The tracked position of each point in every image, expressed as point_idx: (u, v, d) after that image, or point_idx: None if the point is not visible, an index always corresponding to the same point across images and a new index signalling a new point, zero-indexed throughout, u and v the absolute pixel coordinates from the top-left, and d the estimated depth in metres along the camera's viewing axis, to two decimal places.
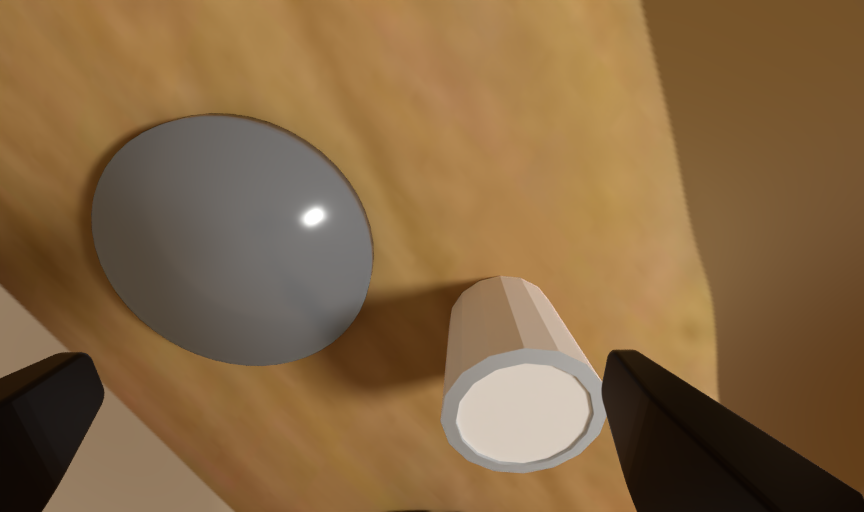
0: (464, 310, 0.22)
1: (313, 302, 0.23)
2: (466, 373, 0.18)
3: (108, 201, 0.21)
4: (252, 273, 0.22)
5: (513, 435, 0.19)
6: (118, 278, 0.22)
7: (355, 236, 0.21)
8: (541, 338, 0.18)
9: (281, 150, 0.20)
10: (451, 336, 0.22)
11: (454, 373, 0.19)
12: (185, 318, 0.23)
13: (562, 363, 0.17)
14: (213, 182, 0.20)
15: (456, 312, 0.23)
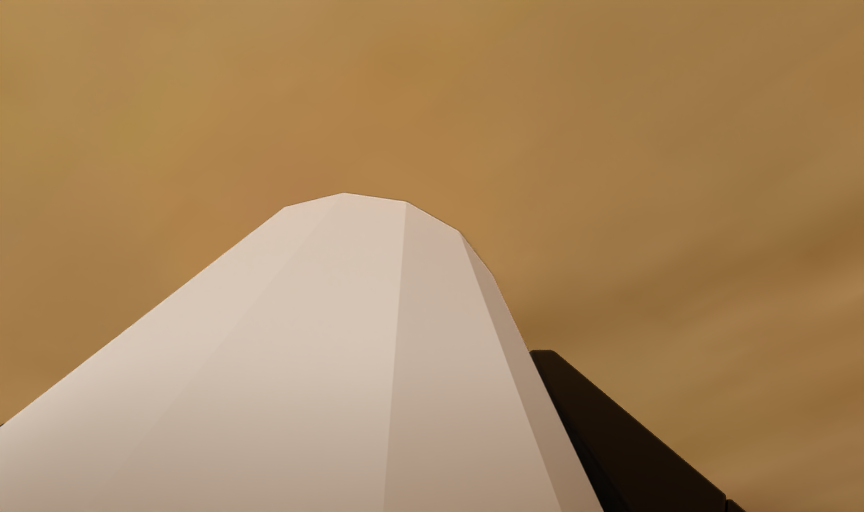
0: None
1: None
2: None
3: None
4: None
5: None
6: None
7: None
8: None
9: None
10: None
11: None
12: None
13: None
14: None
15: None
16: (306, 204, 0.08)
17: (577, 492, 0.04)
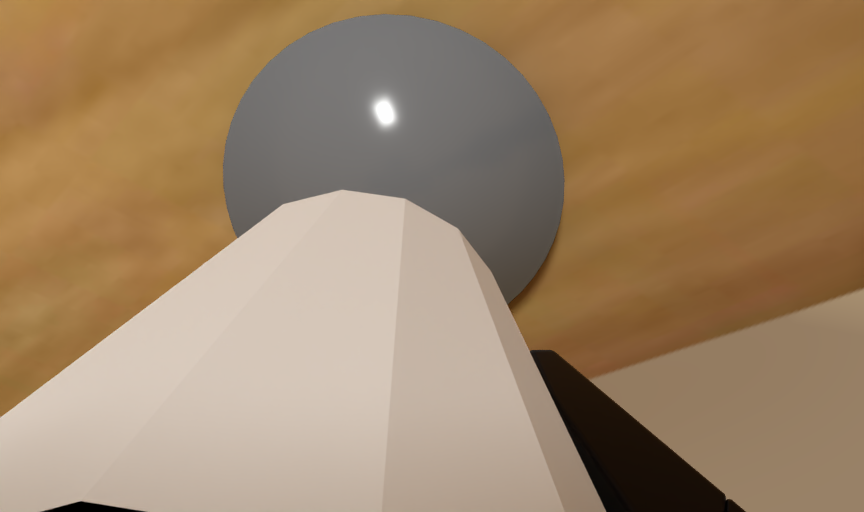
0: None
1: (464, 112, 0.16)
2: None
3: None
4: (416, 187, 0.17)
5: None
6: None
7: (358, 35, 0.15)
8: None
9: (249, 122, 0.16)
10: None
11: None
12: None
13: None
14: None
15: None
16: (304, 201, 0.08)
17: (577, 487, 0.04)
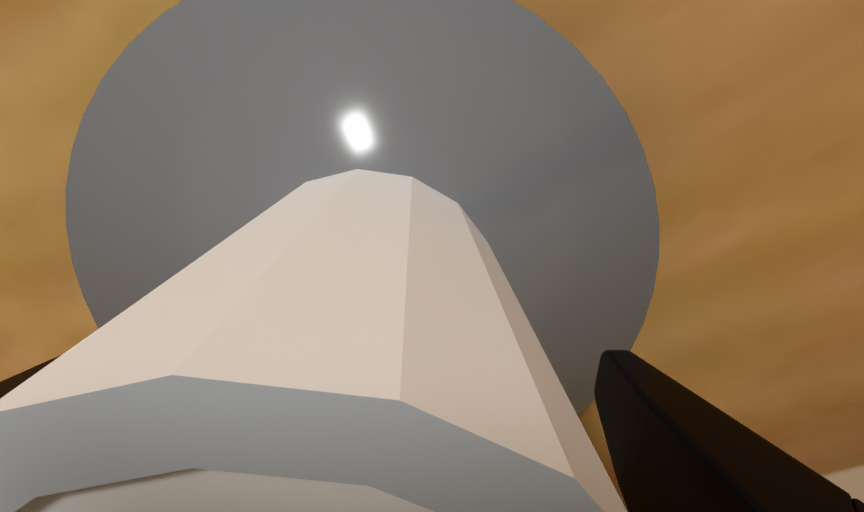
0: None
1: (492, 143, 0.09)
2: None
3: None
4: None
5: None
6: None
7: None
8: None
9: (104, 155, 0.09)
10: None
11: None
12: None
13: None
14: None
15: None
16: (325, 178, 0.09)
17: (545, 375, 0.05)
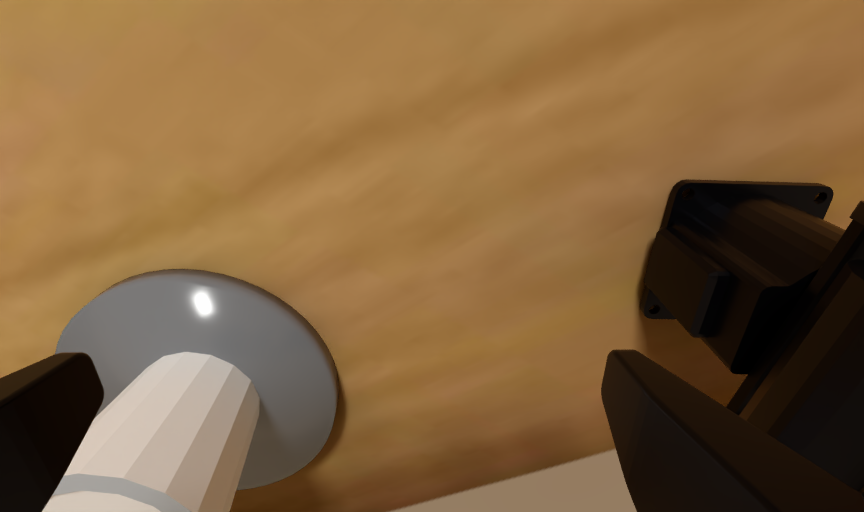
0: None
1: (244, 343, 0.21)
2: None
3: None
4: None
5: None
6: None
7: (151, 294, 0.19)
8: None
9: (72, 344, 0.20)
10: None
11: None
12: (276, 449, 0.24)
13: None
14: None
15: None
16: (170, 357, 0.20)
17: (200, 461, 0.17)
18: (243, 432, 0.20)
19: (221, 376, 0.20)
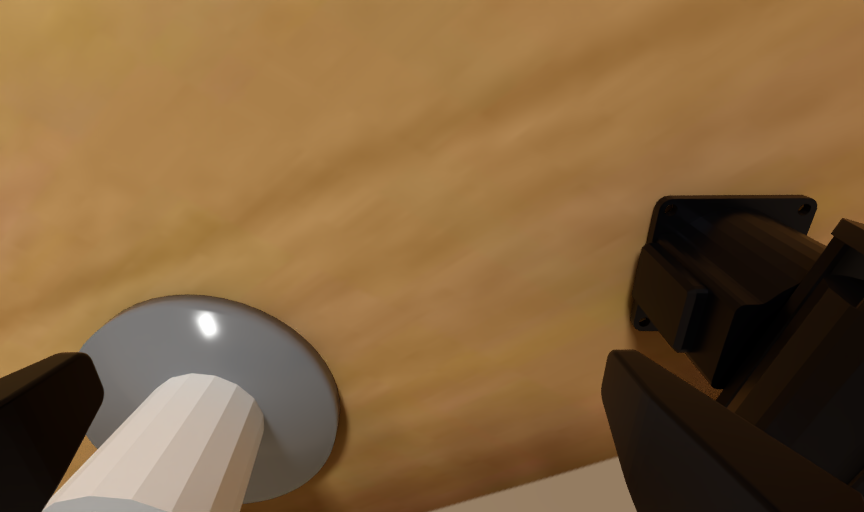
0: None
1: (246, 364, 0.21)
2: None
3: None
4: None
5: None
6: (244, 497, 0.25)
7: (157, 320, 0.20)
8: None
9: None
10: None
11: None
12: (281, 464, 0.24)
13: None
14: None
15: None
16: (176, 379, 0.21)
17: (205, 480, 0.17)
18: (247, 450, 0.20)
19: (225, 396, 0.21)
